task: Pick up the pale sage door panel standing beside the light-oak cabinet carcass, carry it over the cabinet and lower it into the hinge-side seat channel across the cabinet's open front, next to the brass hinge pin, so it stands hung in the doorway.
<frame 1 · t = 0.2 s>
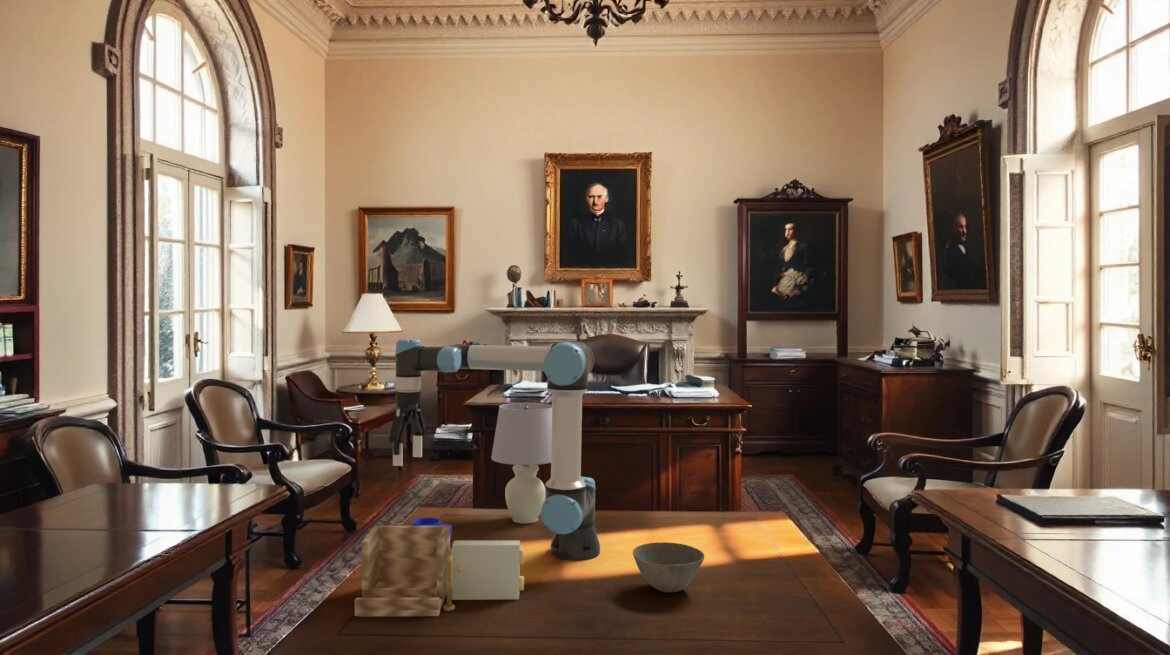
hand: (407, 461, 235), 28 cm above the table, fingers open, 13 cm apart
bowl: (667, 590, 208), on the table
door: (486, 596, 202), on the table
lamp: (525, 520, 274), on the table
cabinet: (407, 594, 202), on the table
mug: (432, 555, 235), on the table
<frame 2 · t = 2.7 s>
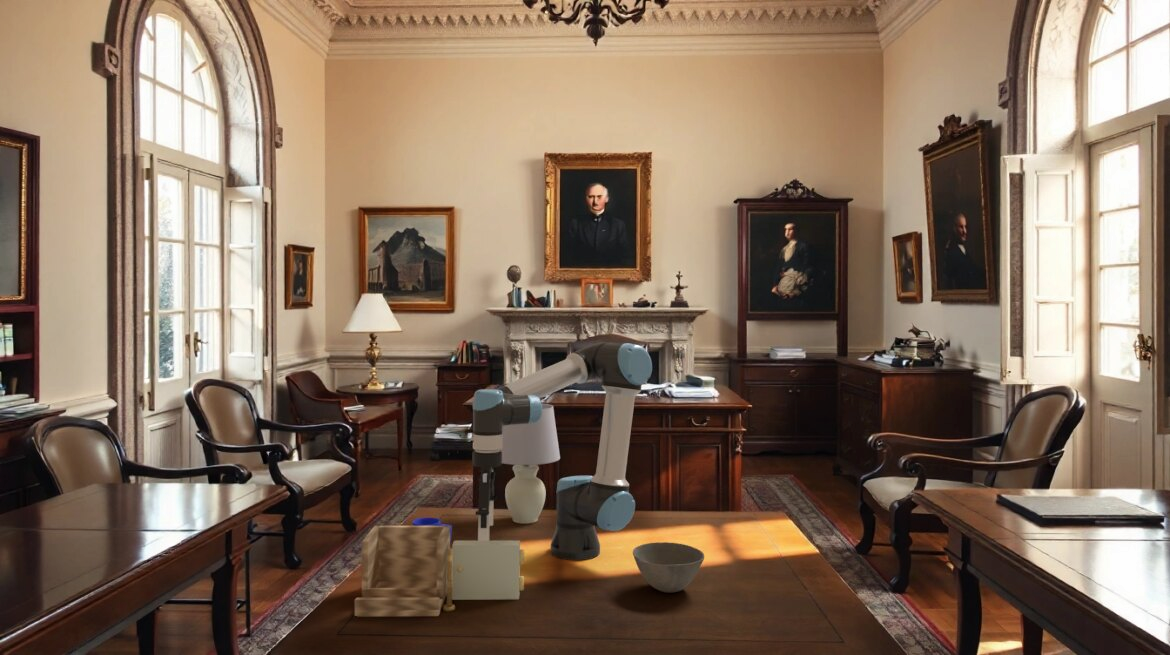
hand: (485, 532, 201), 17 cm above the table, fingers open, 13 cm apart
nothing on the table moved.
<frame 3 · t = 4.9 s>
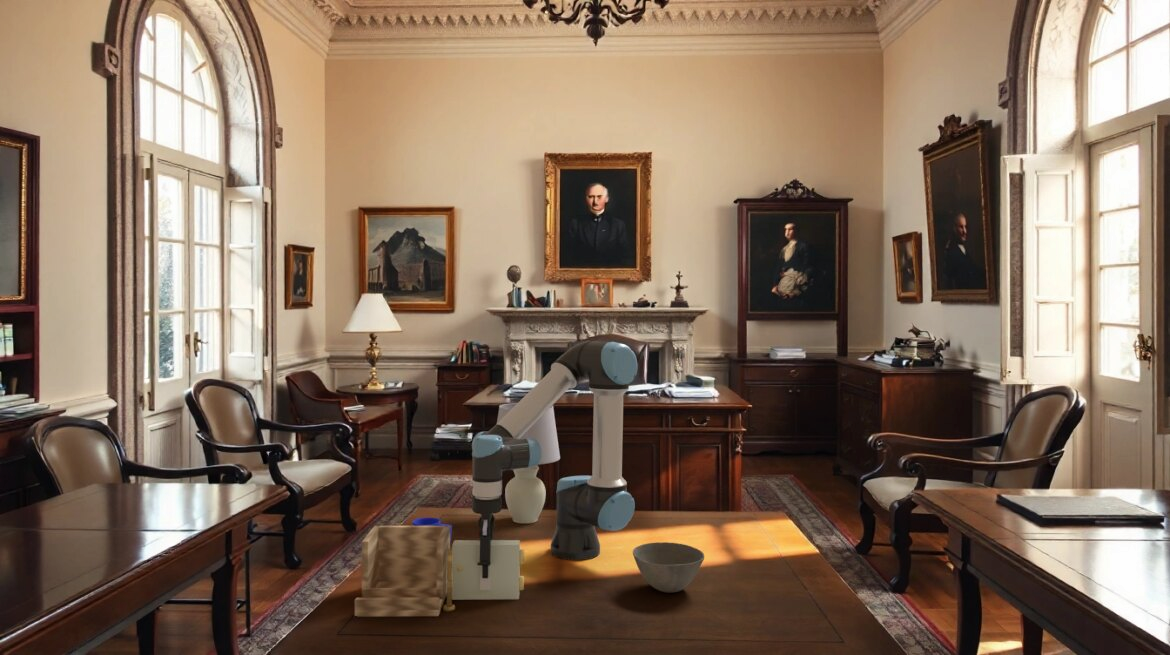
hand: (486, 586, 202), 3 cm above the table, fingers closed on door, 4 cm apart
door: (486, 596, 202), on the table, touching gripper
everything else where it was.
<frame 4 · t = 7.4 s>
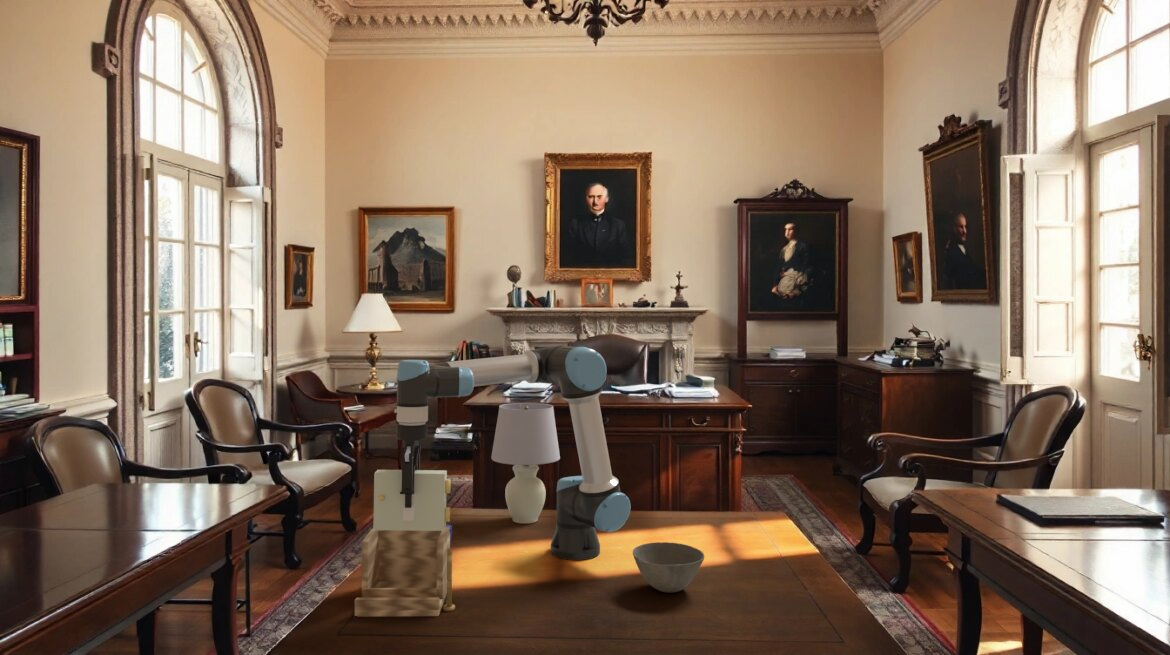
hand: (410, 517, 193), 23 cm above the table, fingers closed on door, 4 cm apart
door: (410, 528, 193), point 20 cm above the table, touching gripper
everything else where it was.
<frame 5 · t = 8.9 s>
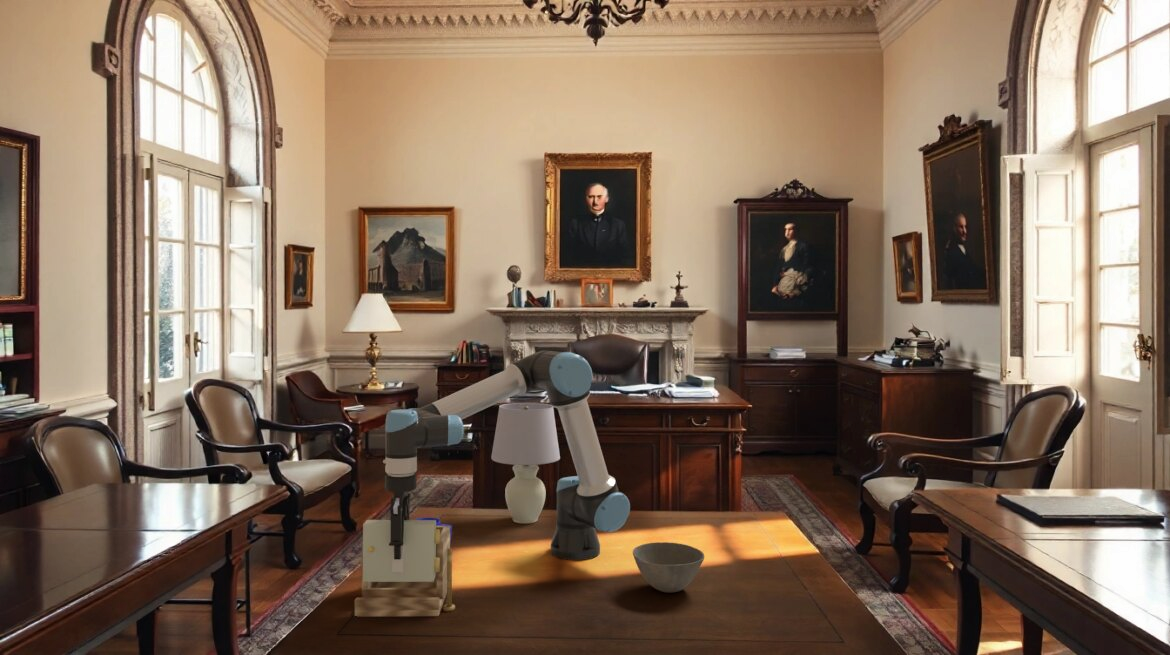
hand: (399, 568, 192), 10 cm above the table, fingers closed on door, 4 cm apart
door: (399, 578, 192), point 8 cm above the table, touching gripper
everything else where it was.
when the fingers open (5 cm above the table, at t = 10.2 s): door stays where it is, resting on cabinet.
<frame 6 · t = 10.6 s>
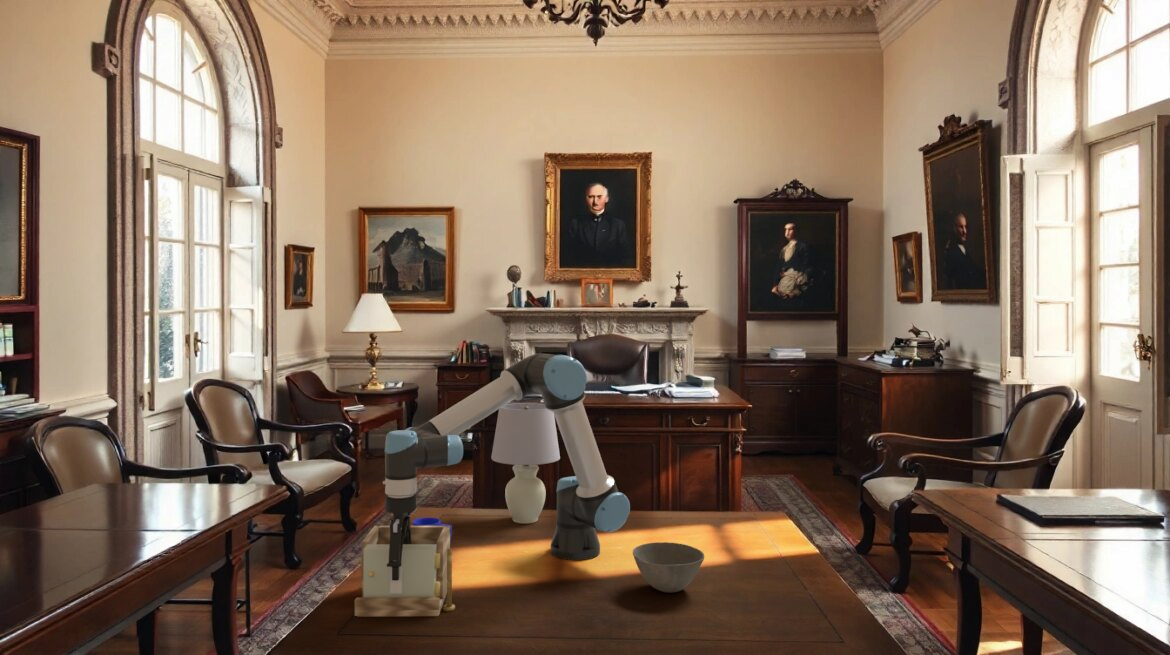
hand: (400, 584, 192), 6 cm above the table, fingers open, 9 cm apart
door: (400, 603, 193), point 1 cm above the table, touching cabinet
everything else where it was.
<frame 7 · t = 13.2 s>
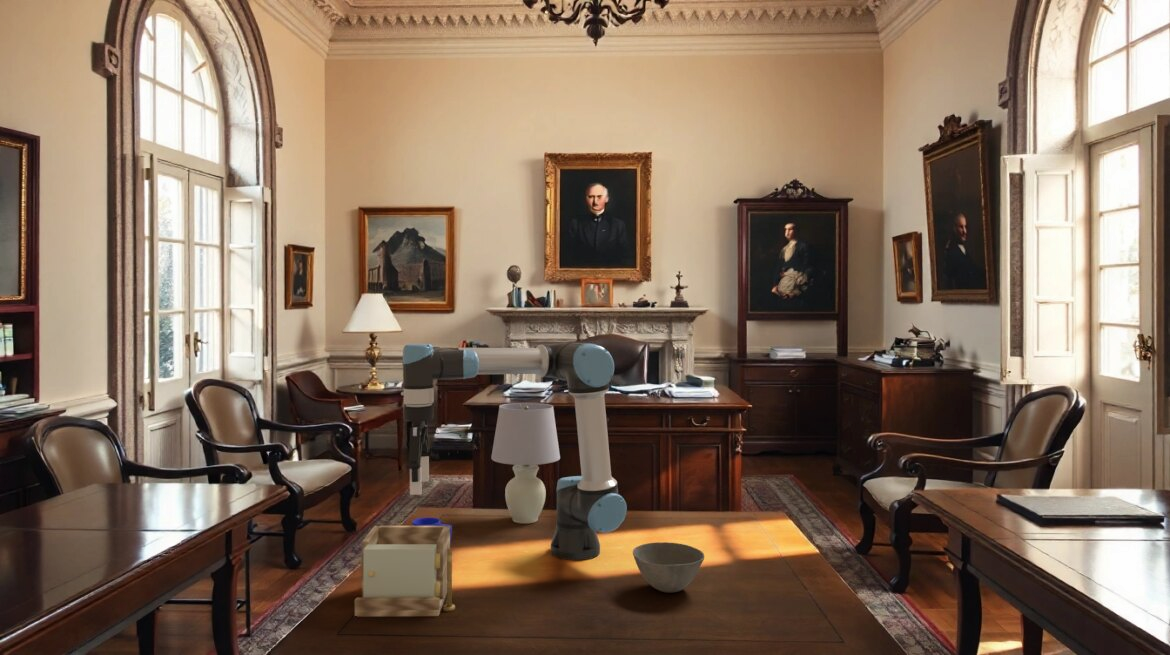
hand: (419, 487, 200), 28 cm above the table, fingers open, 13 cm apart
nothing on the table moved.
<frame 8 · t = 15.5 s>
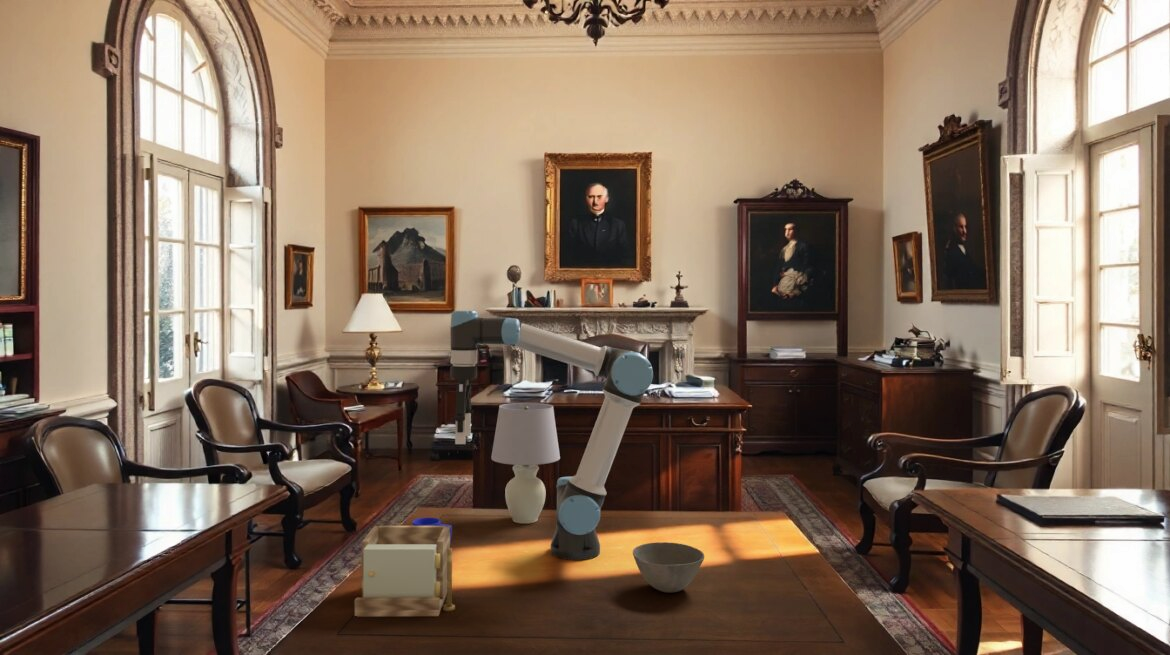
hand: (463, 439, 222), 37 cm above the table, fingers open, 13 cm apart
nothing on the table moved.
at the end: door inside the target area on the cabinet (0.0 cm from its centre), point 1.5 cm above the cabinet's base; door tilted 0°; the gripper is holding nothing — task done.
